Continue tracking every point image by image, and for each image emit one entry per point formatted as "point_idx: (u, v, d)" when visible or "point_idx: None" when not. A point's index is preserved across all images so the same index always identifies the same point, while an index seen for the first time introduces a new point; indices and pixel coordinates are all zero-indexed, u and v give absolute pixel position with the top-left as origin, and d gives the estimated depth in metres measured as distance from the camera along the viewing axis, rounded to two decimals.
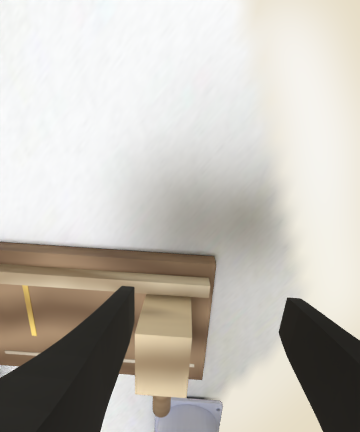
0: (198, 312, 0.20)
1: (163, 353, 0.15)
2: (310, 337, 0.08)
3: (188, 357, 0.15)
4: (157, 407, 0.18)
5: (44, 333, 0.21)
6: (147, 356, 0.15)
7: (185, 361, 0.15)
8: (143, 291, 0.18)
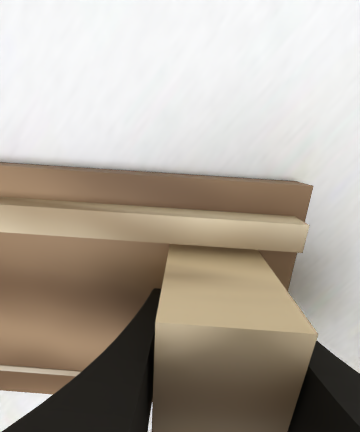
0: None
1: (229, 376, 0.06)
2: None
3: (296, 386, 0.06)
4: None
5: None
6: (186, 382, 0.06)
7: (287, 397, 0.06)
8: (165, 238, 0.09)
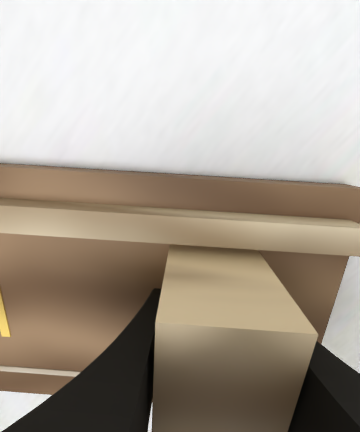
0: (314, 292, 0.11)
1: (229, 377, 0.06)
2: None
3: (296, 387, 0.06)
4: None
5: (24, 332, 0.12)
6: (186, 382, 0.06)
7: (287, 397, 0.06)
8: (225, 242, 0.09)
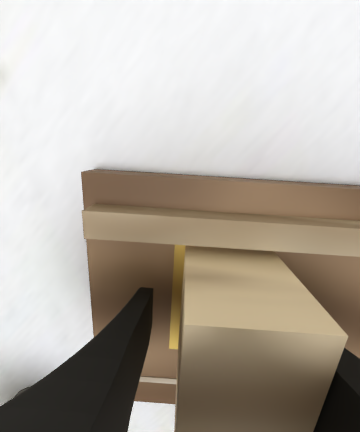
0: None
1: (256, 379, 0.06)
2: None
3: (323, 389, 0.06)
4: None
5: None
6: (213, 384, 0.06)
7: (314, 399, 0.06)
8: None
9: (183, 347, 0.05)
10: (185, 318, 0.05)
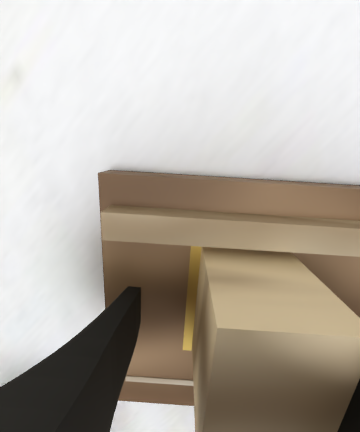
0: None
1: (286, 381, 0.06)
2: None
3: (353, 391, 0.06)
4: None
5: None
6: (242, 387, 0.06)
7: (343, 401, 0.06)
8: None
9: (214, 350, 0.05)
10: (217, 321, 0.05)
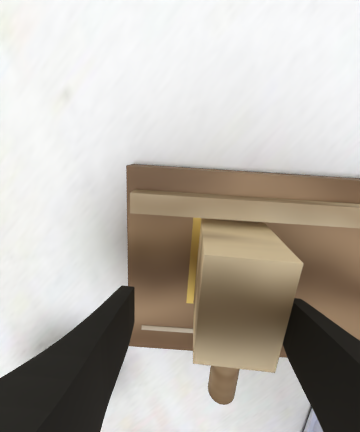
0: None
1: (248, 292, 0.09)
2: (310, 337, 0.08)
3: (290, 300, 0.09)
4: (219, 388, 0.12)
5: None
6: (220, 297, 0.09)
7: (284, 308, 0.09)
8: None
9: (203, 270, 0.09)
10: (204, 252, 0.09)
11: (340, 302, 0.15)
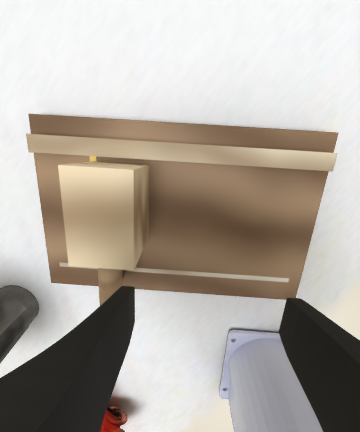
0: (305, 204, 0.16)
1: (97, 197, 0.12)
2: (310, 337, 0.08)
3: (131, 203, 0.12)
4: (103, 296, 0.14)
5: None
6: (77, 202, 0.12)
7: (128, 210, 0.12)
8: (250, 162, 0.14)
9: (60, 179, 0.11)
10: None
11: (226, 238, 0.17)
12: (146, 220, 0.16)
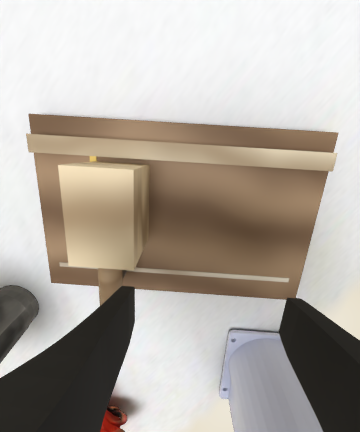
0: (305, 204, 0.16)
1: (97, 197, 0.12)
2: (310, 337, 0.08)
3: (131, 203, 0.12)
4: (103, 296, 0.14)
5: None
6: (77, 202, 0.12)
7: (128, 210, 0.12)
8: (250, 162, 0.14)
9: (60, 179, 0.11)
10: None
11: (226, 238, 0.17)
12: (146, 220, 0.16)
